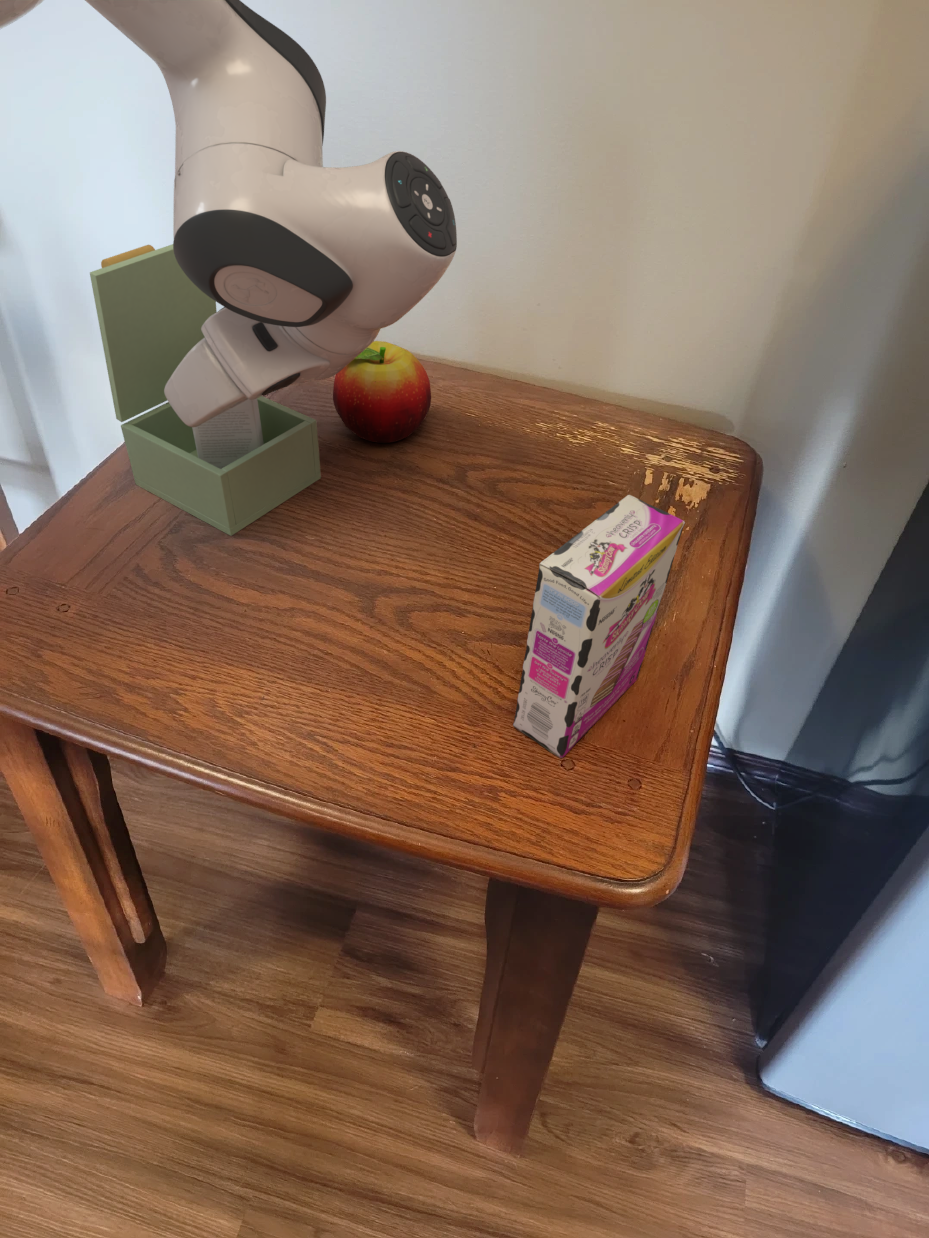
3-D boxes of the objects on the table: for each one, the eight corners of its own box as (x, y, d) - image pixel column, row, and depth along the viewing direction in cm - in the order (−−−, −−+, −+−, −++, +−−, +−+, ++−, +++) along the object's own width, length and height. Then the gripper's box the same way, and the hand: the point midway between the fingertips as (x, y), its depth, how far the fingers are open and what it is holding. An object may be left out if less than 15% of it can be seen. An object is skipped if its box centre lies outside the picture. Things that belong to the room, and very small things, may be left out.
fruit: (439, 451, 93) (442, 366, 86) (340, 459, 91) (335, 372, 84) (420, 402, 101) (421, 321, 94) (328, 409, 98) (323, 326, 92)
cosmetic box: (267, 466, 88) (253, 357, 80) (265, 489, 85) (250, 379, 77) (207, 467, 87) (186, 358, 79) (203, 491, 84) (181, 380, 76)
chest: (321, 478, 88) (316, 420, 83) (231, 536, 80) (220, 475, 76) (228, 434, 93) (219, 377, 89) (135, 484, 86) (120, 425, 81)
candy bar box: (564, 763, 63) (600, 598, 51) (510, 728, 65) (533, 562, 54) (642, 681, 69) (689, 518, 58) (591, 651, 71) (626, 489, 60)
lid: (211, 236, 78) (176, 218, 79) (95, 276, 70) (59, 255, 72) (221, 374, 88) (190, 356, 90) (121, 422, 81) (89, 402, 82)
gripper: (372, 248, 73) (297, 324, 84) (189, 325, 60) (128, 404, 71) (413, 313, 74) (334, 380, 85) (242, 402, 62) (174, 468, 72)
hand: (239, 392), depth 78 cm, fingers open, 8 cm apart
